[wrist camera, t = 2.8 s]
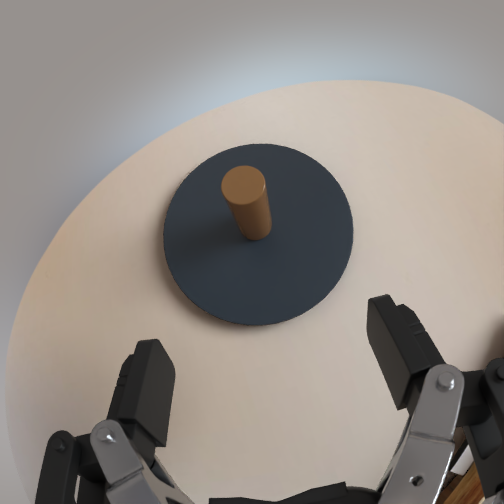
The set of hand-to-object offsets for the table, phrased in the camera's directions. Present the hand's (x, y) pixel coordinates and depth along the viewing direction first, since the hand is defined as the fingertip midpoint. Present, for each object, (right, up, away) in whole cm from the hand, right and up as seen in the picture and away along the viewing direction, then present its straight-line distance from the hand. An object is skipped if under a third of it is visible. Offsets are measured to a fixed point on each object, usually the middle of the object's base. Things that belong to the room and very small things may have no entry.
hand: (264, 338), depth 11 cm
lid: (0, +5, +13) cm, 14 cm away
